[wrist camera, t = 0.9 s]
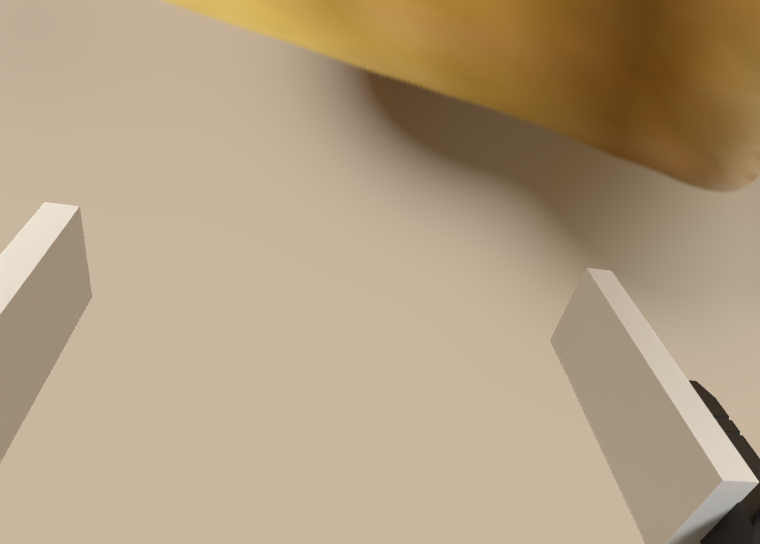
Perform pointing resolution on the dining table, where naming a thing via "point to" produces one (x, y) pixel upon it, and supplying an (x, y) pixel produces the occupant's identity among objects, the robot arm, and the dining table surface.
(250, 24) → the dining table surface
